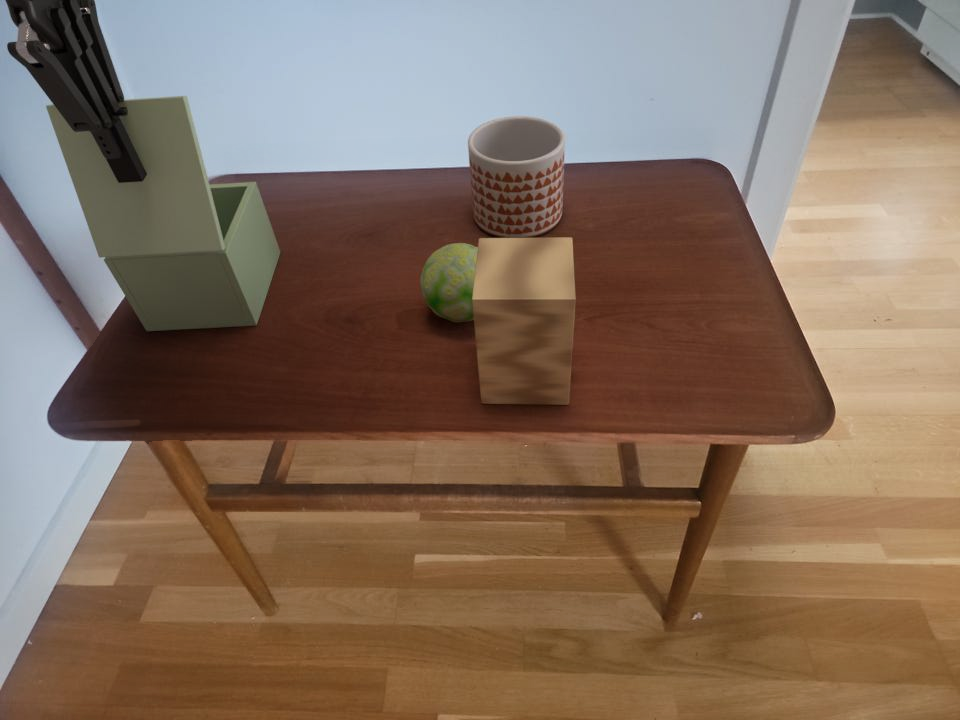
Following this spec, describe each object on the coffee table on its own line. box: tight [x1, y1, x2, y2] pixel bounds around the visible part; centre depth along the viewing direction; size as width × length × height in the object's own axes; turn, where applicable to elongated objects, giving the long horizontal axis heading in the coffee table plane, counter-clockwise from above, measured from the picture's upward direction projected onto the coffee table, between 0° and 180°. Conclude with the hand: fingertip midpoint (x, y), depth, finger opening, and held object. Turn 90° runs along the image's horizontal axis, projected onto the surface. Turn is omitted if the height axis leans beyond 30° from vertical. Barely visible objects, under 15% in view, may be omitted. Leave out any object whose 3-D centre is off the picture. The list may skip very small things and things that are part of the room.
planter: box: [467, 115, 566, 238], centre depth 95 cm, size 14×14×13 cm
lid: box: [45, 95, 225, 258], centre depth 73 cm, size 17×15×1 cm
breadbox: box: [103, 181, 281, 332], centre depth 87 cm, size 16×15×12 cm
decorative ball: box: [419, 242, 478, 323], centre depth 82 cm, size 10×10×10 cm
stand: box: [472, 236, 577, 406], centre depth 71 cm, size 10×10×16 cm
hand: (132, 178), depth 71 cm, fingers closed
